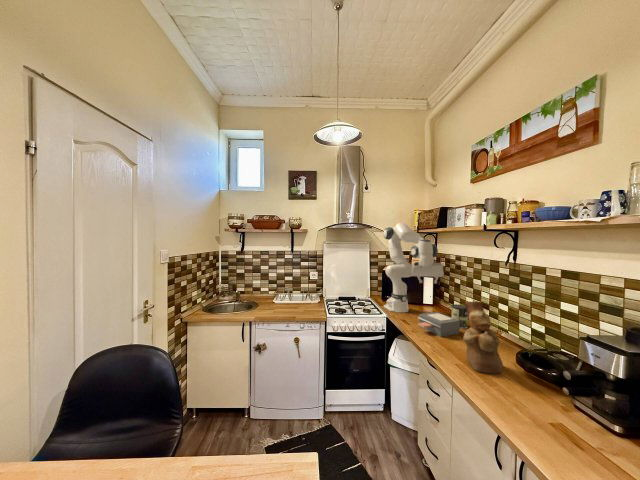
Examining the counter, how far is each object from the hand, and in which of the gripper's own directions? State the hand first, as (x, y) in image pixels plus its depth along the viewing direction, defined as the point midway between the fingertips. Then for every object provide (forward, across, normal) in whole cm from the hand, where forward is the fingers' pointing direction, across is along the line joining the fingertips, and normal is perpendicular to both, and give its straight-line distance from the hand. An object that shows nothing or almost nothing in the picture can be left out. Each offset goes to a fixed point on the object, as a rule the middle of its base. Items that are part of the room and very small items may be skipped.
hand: (428, 283), depth 170 cm
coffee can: (+32, -12, -22) cm, 41 cm away
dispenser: (+32, -4, -4) cm, 32 cm away
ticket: (+28, -2, +1) cm, 28 cm away
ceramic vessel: (+35, -32, +29) cm, 56 cm away
